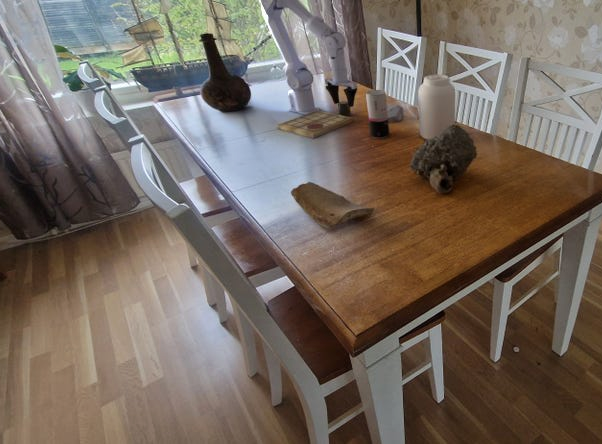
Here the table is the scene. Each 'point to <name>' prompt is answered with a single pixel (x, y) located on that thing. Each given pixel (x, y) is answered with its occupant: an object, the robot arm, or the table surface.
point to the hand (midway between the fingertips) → (343, 104)
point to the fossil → (327, 205)
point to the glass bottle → (222, 81)
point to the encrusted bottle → (444, 158)
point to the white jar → (436, 105)
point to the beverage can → (377, 113)
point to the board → (315, 123)
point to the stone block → (395, 113)
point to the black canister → (344, 108)
